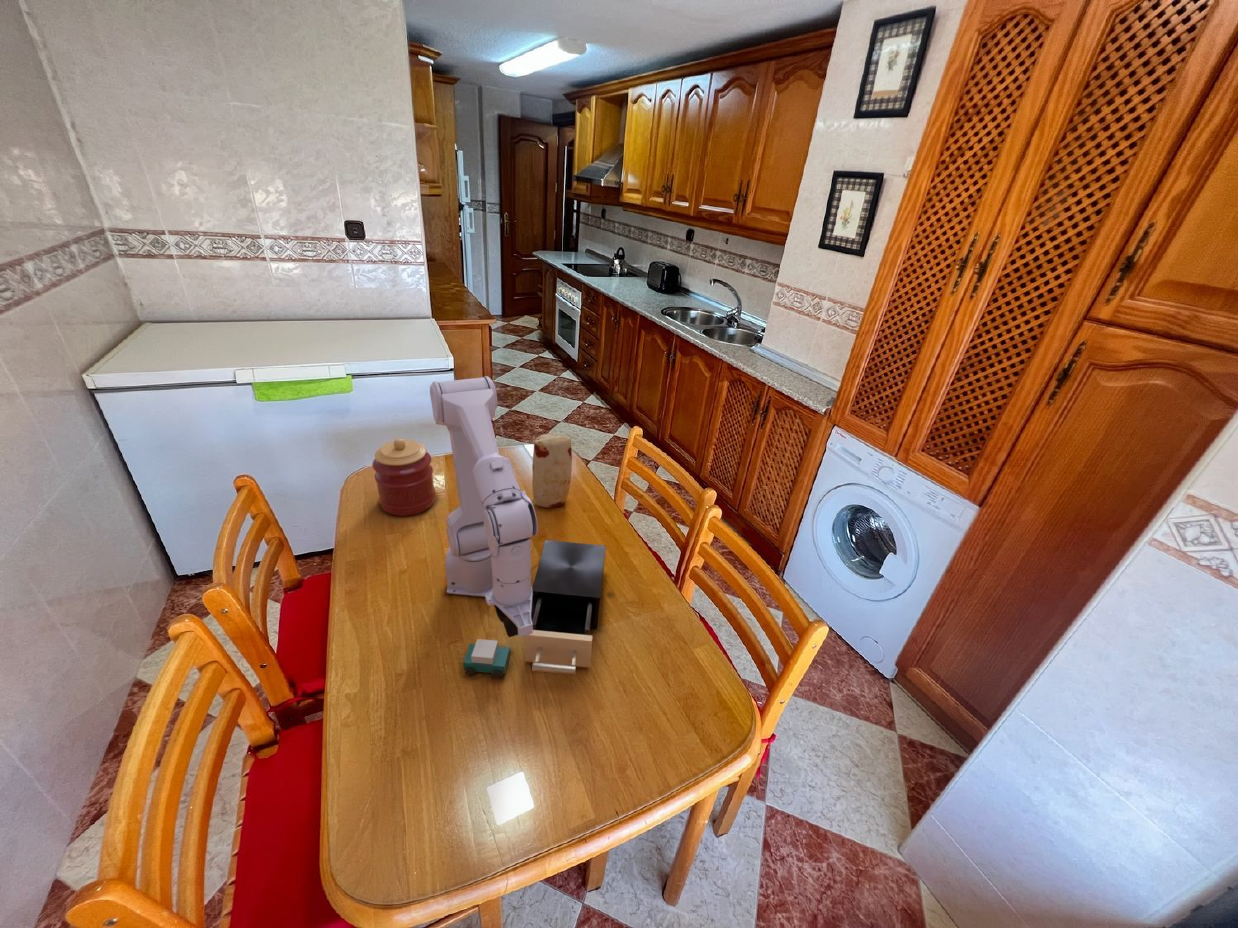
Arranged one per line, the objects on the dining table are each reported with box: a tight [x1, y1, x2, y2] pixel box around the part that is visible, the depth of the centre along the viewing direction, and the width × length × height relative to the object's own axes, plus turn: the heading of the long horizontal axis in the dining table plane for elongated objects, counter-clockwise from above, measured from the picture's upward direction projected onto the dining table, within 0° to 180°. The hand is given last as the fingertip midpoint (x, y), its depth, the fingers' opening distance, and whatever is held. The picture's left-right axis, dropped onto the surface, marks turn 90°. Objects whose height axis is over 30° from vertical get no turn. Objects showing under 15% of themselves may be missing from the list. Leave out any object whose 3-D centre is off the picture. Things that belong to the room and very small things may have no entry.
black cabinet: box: [531, 539, 607, 631], centre depth 98 cm, size 15×13×9 cm
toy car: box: [462, 638, 511, 679], centre depth 85 cm, size 7×5×4 cm
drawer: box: [523, 595, 594, 676], centre depth 88 cm, size 18×11×7 cm, turn 177°
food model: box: [531, 433, 573, 508], centre depth 123 cm, size 10×7×20 cm
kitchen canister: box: [371, 438, 437, 517], centre depth 119 cm, size 13×13×18 cm
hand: (513, 632), depth 81 cm, fingers closed
